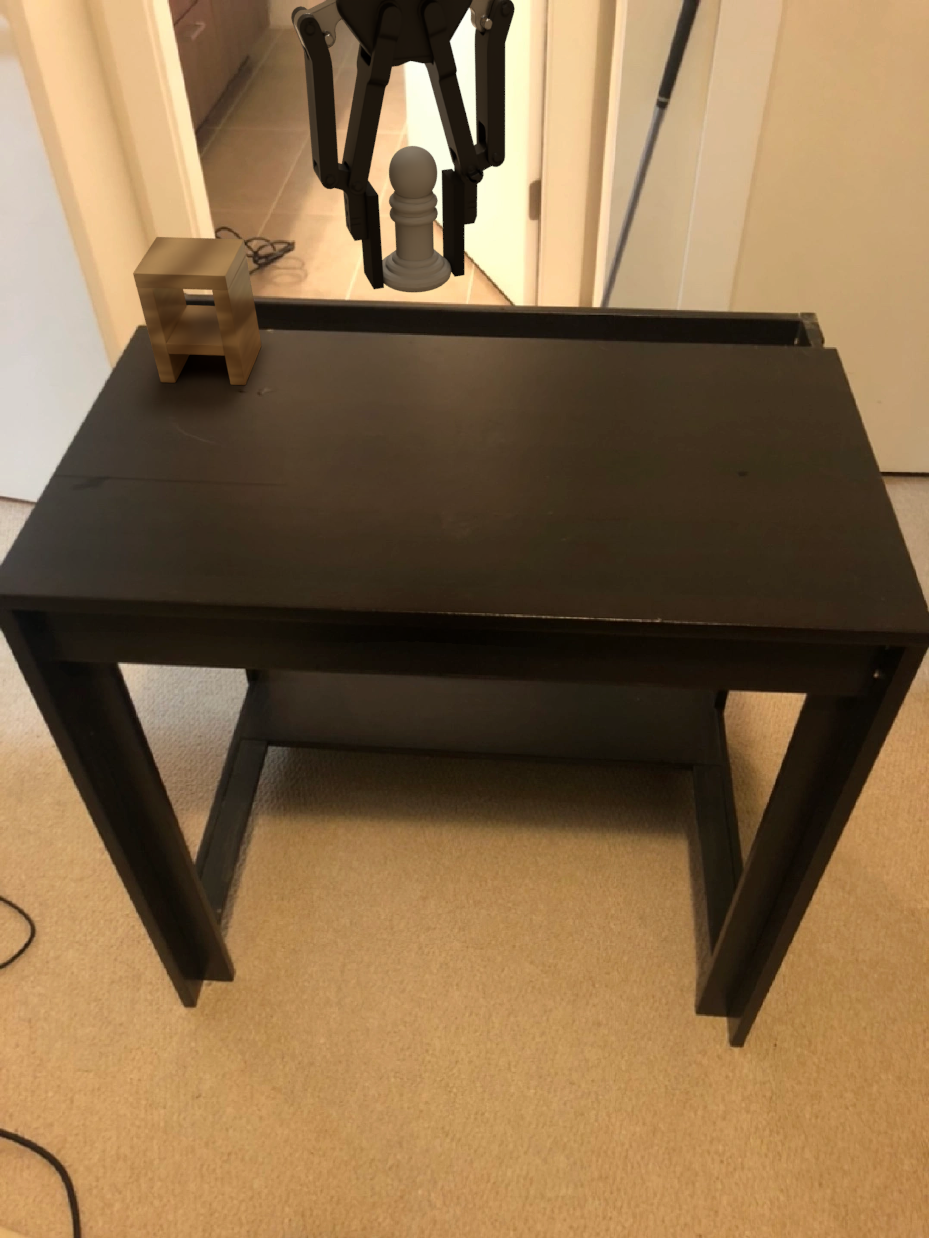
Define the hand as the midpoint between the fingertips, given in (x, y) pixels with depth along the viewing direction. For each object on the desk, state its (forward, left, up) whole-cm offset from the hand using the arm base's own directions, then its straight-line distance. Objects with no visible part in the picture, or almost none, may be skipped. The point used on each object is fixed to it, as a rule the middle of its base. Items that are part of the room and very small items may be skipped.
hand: (414, 273), depth 71 cm
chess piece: (0, 0, 0) cm, 1 cm away
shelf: (-13, +32, -23) cm, 42 cm away
